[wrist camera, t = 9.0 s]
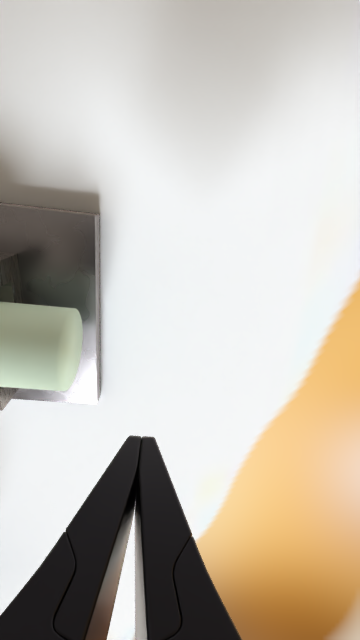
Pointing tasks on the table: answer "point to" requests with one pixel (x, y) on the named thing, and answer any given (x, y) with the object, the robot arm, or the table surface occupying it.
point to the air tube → (39, 346)
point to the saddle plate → (54, 283)
